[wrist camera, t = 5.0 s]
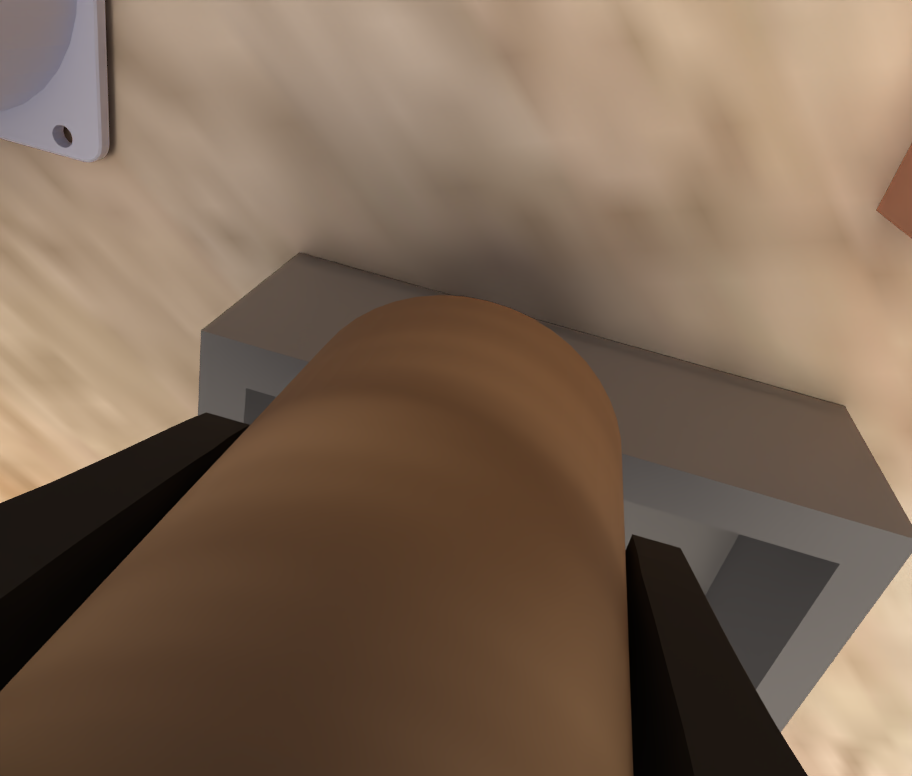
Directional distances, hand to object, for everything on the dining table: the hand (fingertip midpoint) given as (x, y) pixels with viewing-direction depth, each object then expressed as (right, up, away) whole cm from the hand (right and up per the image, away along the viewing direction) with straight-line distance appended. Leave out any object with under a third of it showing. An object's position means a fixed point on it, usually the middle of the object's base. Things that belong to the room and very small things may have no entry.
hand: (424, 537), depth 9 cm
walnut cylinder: (0, +1, +1) cm, 2 cm away
